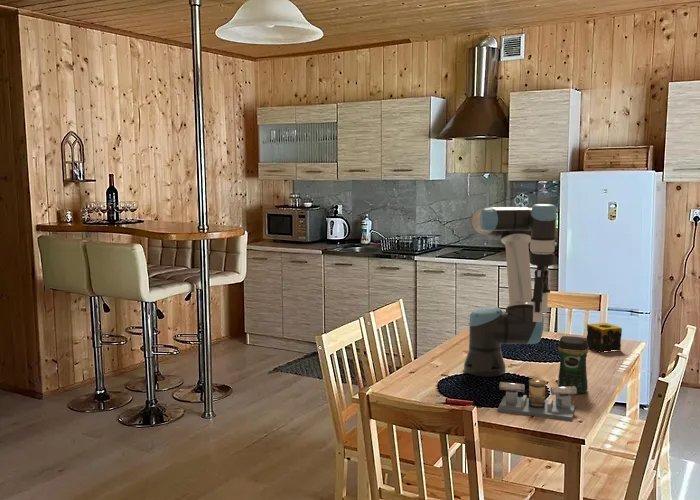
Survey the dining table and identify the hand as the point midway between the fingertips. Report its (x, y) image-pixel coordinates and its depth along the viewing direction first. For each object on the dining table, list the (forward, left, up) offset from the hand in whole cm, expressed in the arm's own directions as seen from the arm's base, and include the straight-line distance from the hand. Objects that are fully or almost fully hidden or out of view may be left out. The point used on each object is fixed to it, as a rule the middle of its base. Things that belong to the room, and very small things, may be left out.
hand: (540, 317), depth 223 cm
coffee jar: (+10, +11, -27) cm, 31 cm away
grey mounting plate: (+1, -12, -27) cm, 29 cm away
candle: (+18, +72, -27) cm, 79 cm away
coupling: (+1, -12, -26) cm, 28 cm away
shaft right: (+9, -10, -27) cm, 30 cm away
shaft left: (-7, -12, -27) cm, 30 cm away
